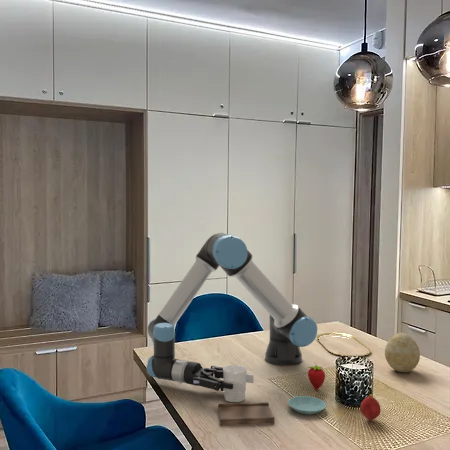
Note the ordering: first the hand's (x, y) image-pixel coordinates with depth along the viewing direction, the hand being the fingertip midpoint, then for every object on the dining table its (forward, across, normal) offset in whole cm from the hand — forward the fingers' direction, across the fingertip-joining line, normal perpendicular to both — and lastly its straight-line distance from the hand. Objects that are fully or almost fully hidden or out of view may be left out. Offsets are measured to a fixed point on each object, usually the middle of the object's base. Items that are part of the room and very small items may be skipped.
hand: (248, 383), depth 158 cm
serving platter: (+15, -75, -7) cm, 77 cm away
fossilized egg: (+43, -52, -6) cm, 67 cm away
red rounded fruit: (+38, -3, -6) cm, 39 cm away
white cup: (-5, 0, -6) cm, 8 cm away
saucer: (+19, -2, -6) cm, 20 cm away
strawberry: (+18, -19, -6) cm, 27 cm away
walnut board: (+4, +11, -6) cm, 13 cm away
